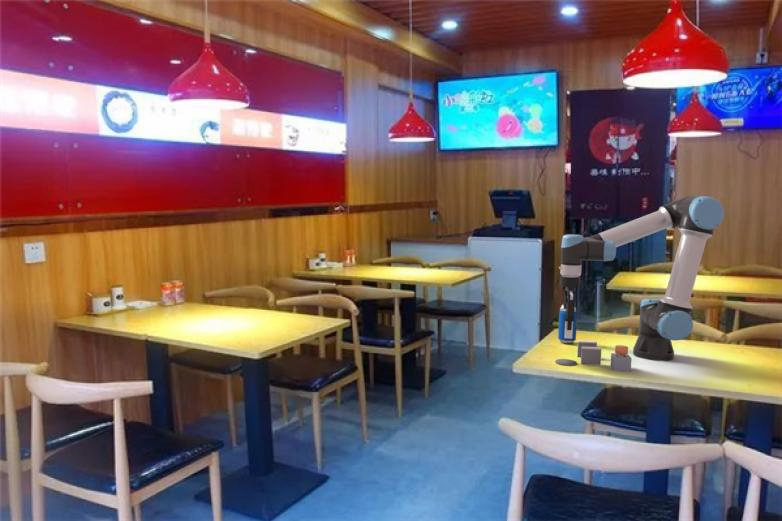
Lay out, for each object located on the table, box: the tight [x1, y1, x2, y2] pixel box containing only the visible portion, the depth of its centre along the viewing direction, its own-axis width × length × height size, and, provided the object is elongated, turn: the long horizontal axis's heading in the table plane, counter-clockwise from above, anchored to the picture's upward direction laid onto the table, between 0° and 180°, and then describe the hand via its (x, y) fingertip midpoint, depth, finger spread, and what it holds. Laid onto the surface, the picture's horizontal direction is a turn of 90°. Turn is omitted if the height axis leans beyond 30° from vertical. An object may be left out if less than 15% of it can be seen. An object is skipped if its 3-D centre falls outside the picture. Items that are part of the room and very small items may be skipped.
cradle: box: [576, 339, 602, 366], centre depth 236 cm, size 7×11×6 cm, turn 171°
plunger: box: [614, 344, 629, 357], centre depth 226 cm, size 4×4×7 cm
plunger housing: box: [610, 352, 632, 373], centre depth 226 cm, size 6×6×5 cm
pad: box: [554, 358, 578, 367], centre depth 233 cm, size 8×8×1 cm
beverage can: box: [557, 308, 578, 343], centre depth 232 cm, size 6×6×12 cm
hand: (567, 335), depth 232 cm, fingers closed on beverage can, 6 cm apart
